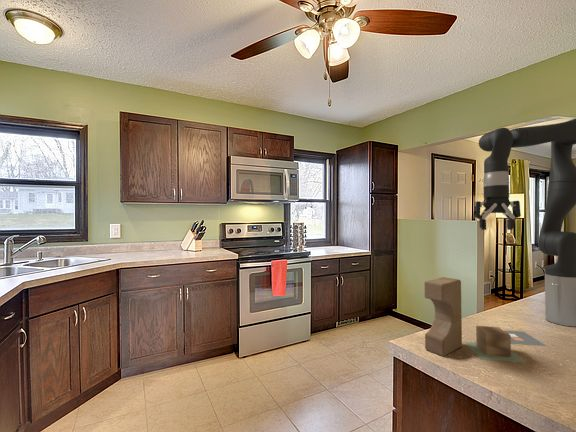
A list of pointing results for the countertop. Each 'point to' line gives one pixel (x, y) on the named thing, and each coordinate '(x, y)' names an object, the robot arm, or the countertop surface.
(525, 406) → the countertop surface
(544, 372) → the countertop surface
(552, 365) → the countertop surface
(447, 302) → the decorative block
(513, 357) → the mat
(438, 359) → the countertop surface
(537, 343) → the tile
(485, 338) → the walnut block
